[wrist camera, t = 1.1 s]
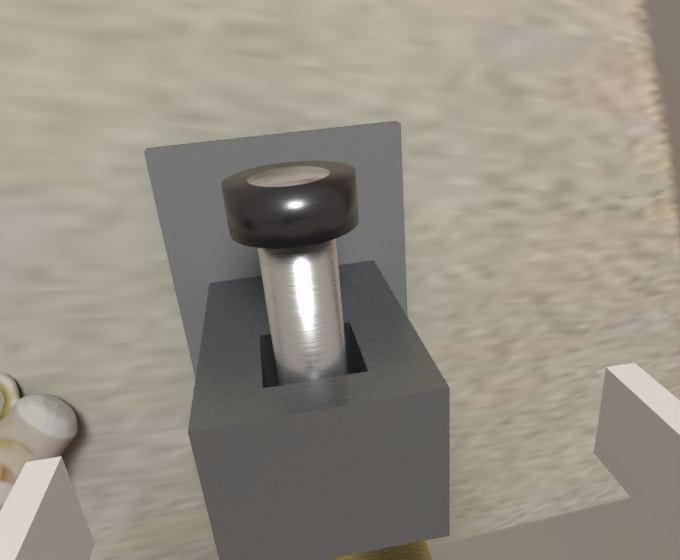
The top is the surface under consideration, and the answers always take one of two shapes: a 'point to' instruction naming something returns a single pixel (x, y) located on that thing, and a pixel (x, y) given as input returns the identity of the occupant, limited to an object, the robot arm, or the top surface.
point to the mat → (245, 153)
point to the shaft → (298, 257)
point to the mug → (30, 431)
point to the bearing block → (319, 431)
